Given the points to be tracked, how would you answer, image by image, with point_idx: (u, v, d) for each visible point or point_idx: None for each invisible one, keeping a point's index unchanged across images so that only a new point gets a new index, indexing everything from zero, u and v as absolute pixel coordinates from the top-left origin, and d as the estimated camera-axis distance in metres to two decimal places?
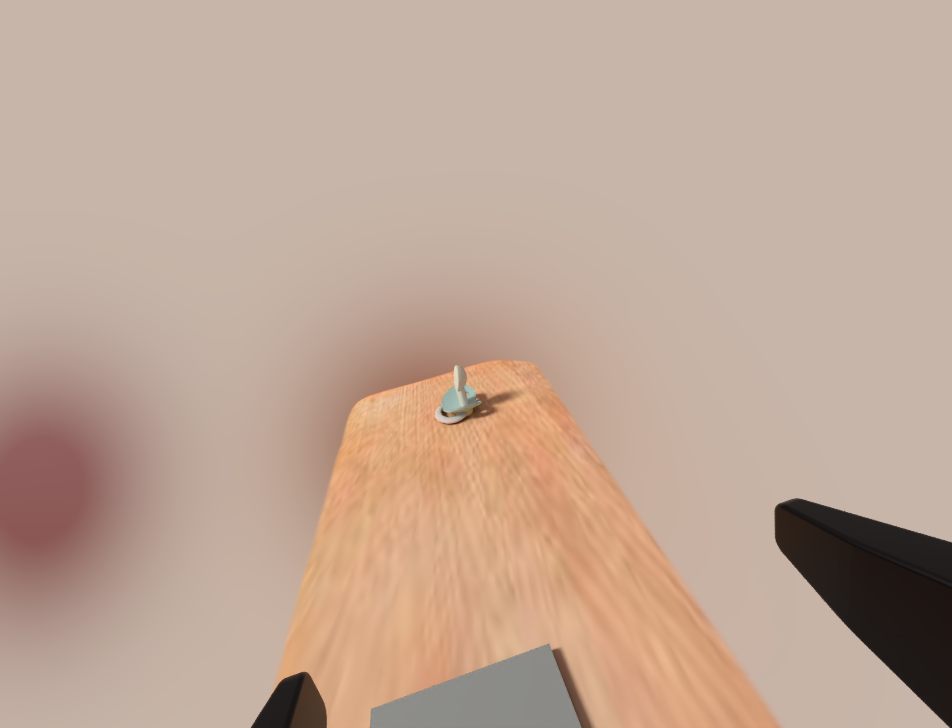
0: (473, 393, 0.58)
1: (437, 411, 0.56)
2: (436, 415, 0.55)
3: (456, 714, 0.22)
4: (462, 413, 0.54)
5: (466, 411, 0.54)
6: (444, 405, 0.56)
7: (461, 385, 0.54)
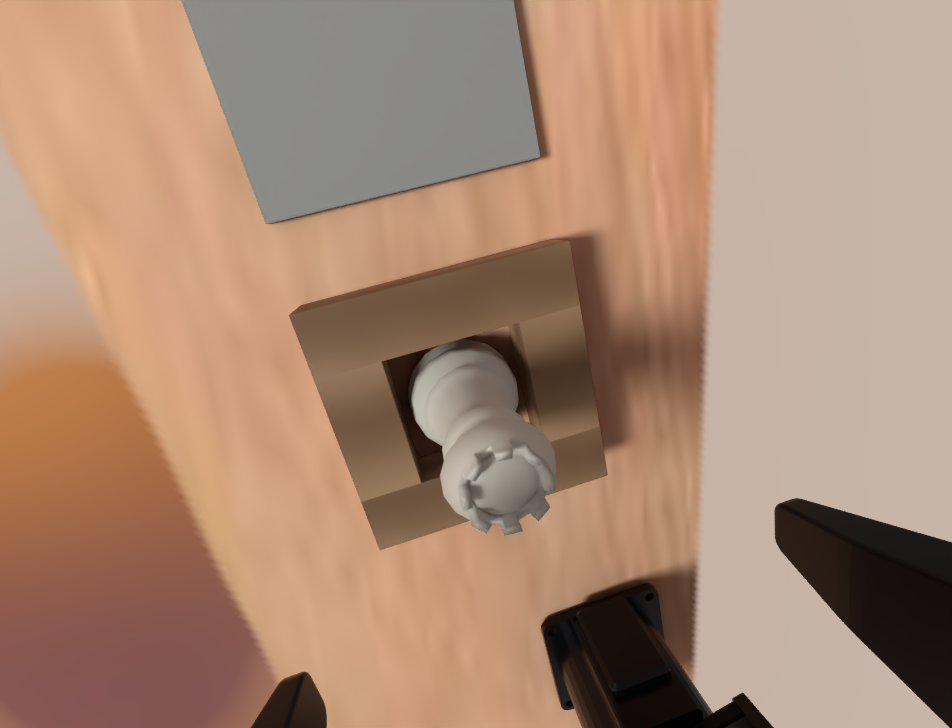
0: None
1: None
2: None
3: None
4: None
5: None
6: None
7: None
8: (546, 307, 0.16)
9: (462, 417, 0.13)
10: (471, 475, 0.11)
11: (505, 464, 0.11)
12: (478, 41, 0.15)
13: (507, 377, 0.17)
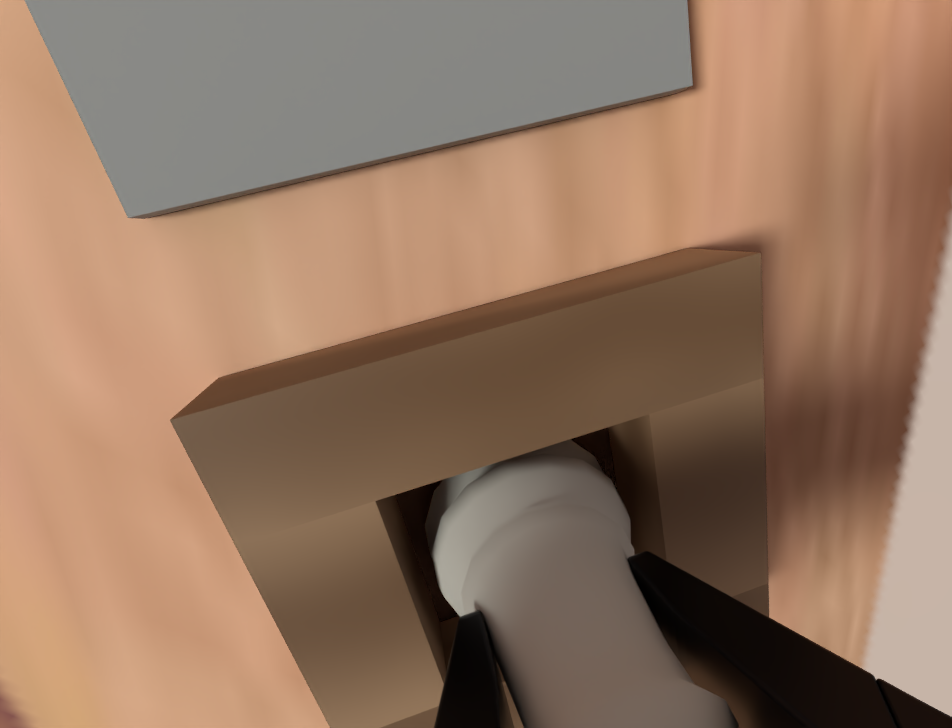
0: None
1: None
2: None
3: None
4: None
5: None
6: None
7: None
8: (702, 384, 0.08)
9: (584, 724, 0.05)
10: None
11: None
12: None
13: (618, 515, 0.09)
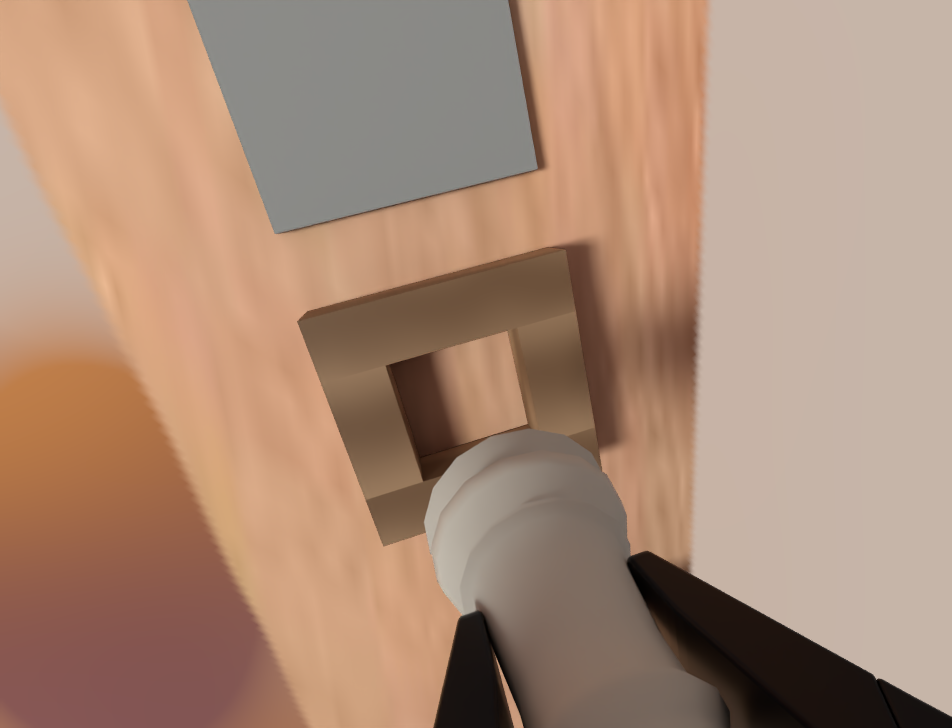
0: None
1: None
2: None
3: None
4: None
5: None
6: None
7: None
8: (543, 313, 0.17)
9: (578, 710, 0.05)
10: None
11: None
12: (478, 59, 0.15)
13: (614, 510, 0.09)
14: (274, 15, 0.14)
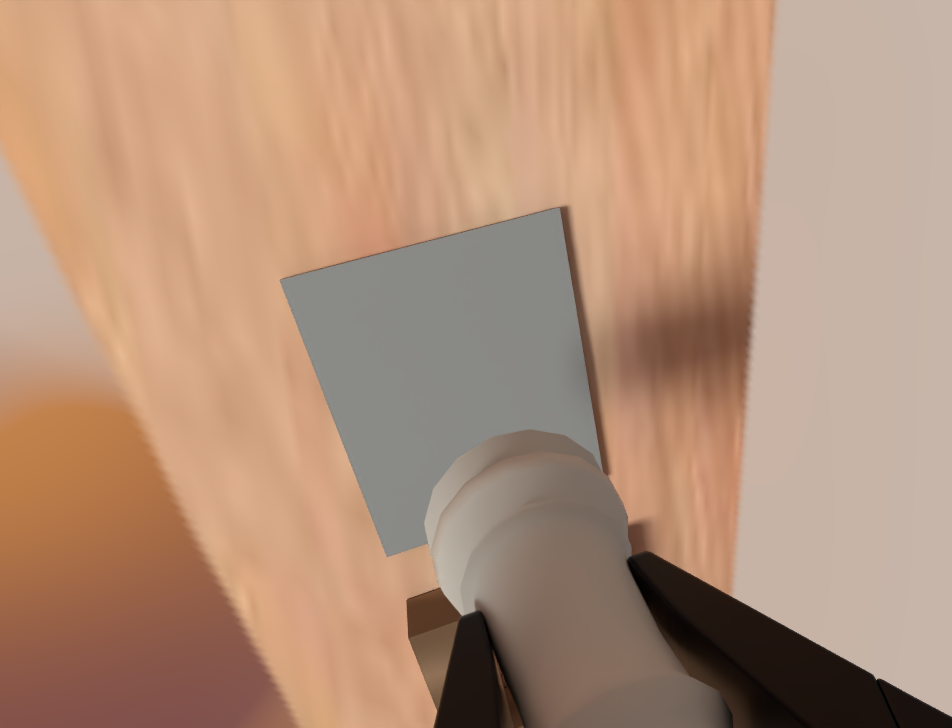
0: None
1: None
2: None
3: (422, 297, 0.16)
4: None
5: None
6: None
7: None
8: None
9: (580, 715, 0.05)
10: None
11: None
12: (560, 417, 0.18)
13: (615, 511, 0.09)
14: (398, 410, 0.17)
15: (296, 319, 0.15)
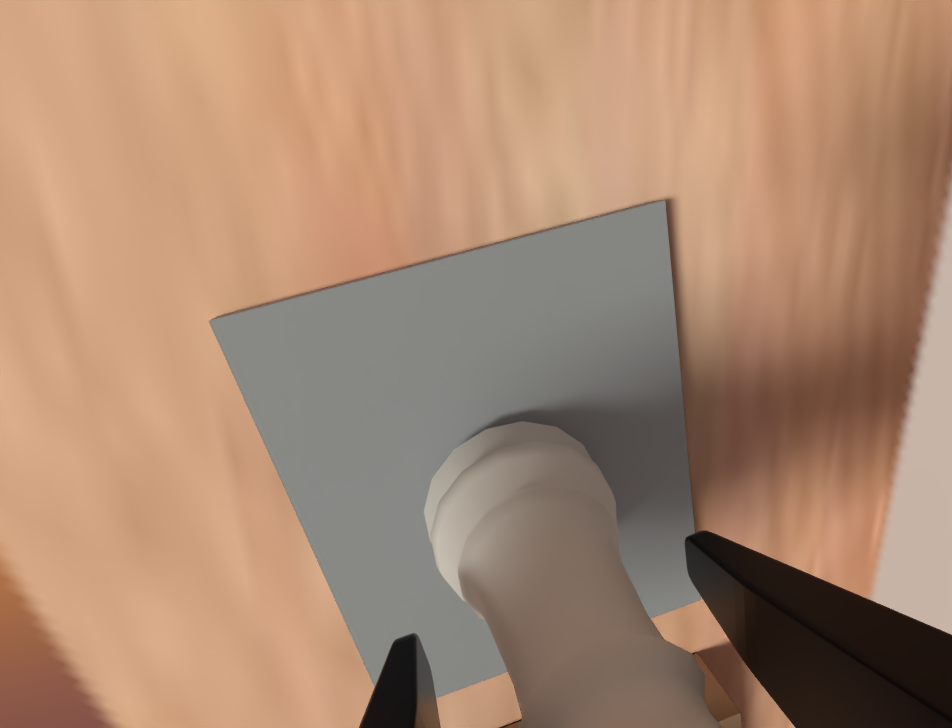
0: None
1: None
2: None
3: (445, 344, 0.10)
4: None
5: None
6: None
7: None
8: None
9: (563, 673, 0.06)
10: None
11: None
12: (645, 513, 0.12)
13: (603, 496, 0.09)
14: (405, 515, 0.11)
15: (240, 383, 0.09)
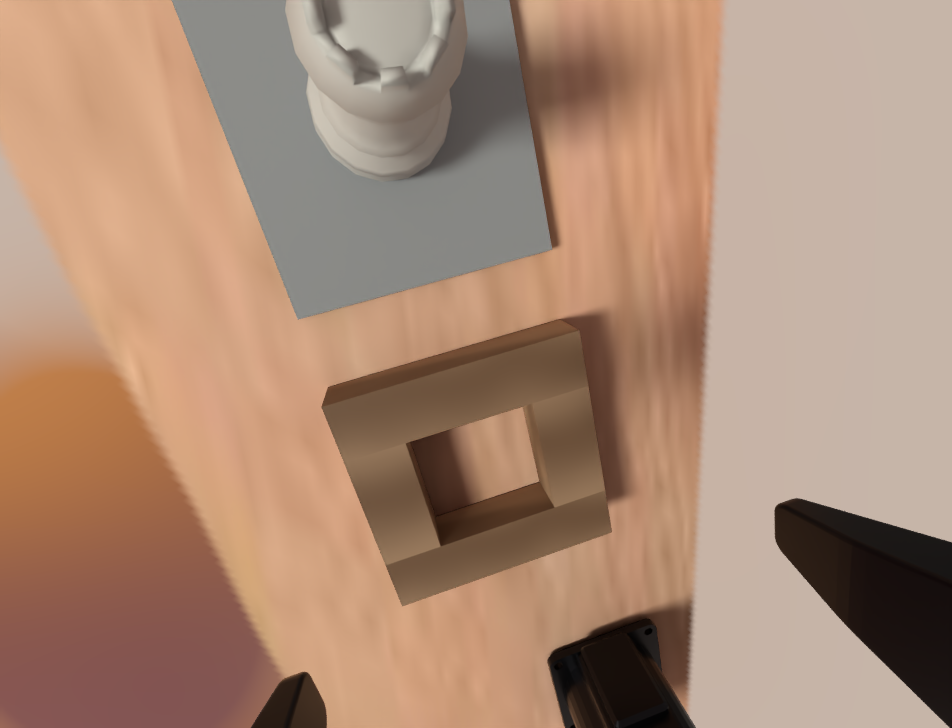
0: None
1: None
2: None
3: None
4: None
5: None
6: None
7: None
8: (557, 389, 0.18)
9: None
10: None
11: None
12: (495, 150, 0.16)
13: None
14: (298, 117, 0.14)
15: None
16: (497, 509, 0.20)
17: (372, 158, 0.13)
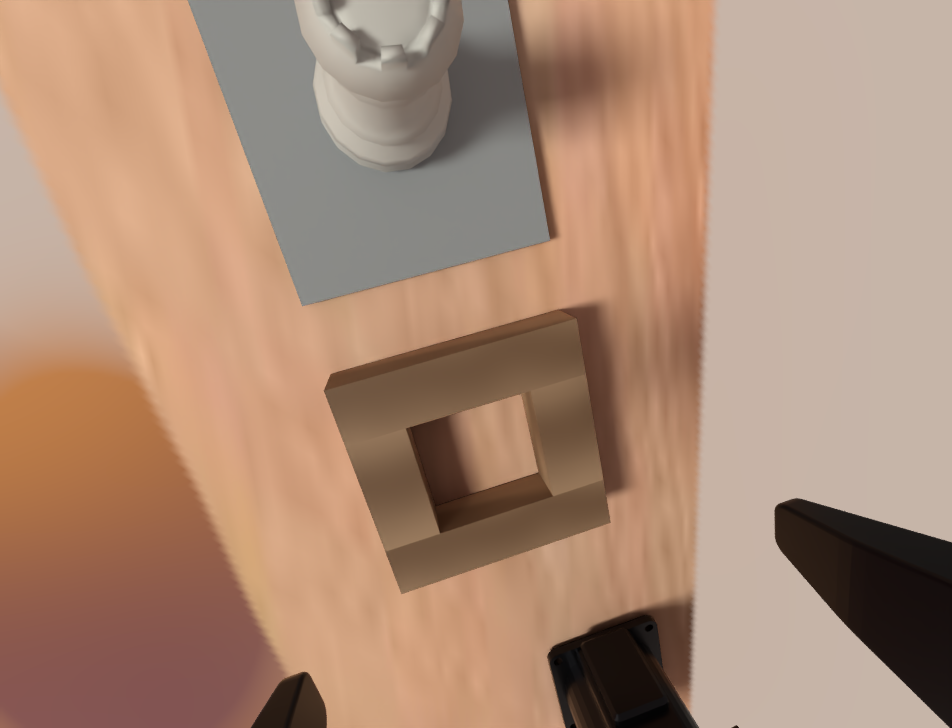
0: None
1: None
2: None
3: None
4: None
5: None
6: None
7: None
8: (555, 377, 0.18)
9: None
10: None
11: None
12: (495, 143, 0.16)
13: None
14: (305, 109, 0.15)
15: None
16: (496, 498, 0.20)
17: (375, 147, 0.14)
